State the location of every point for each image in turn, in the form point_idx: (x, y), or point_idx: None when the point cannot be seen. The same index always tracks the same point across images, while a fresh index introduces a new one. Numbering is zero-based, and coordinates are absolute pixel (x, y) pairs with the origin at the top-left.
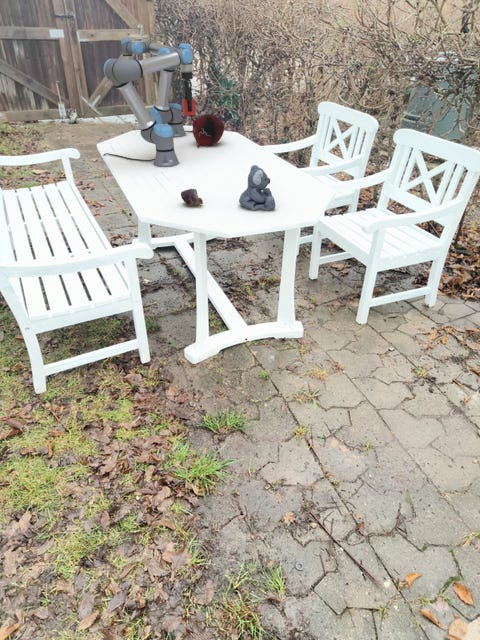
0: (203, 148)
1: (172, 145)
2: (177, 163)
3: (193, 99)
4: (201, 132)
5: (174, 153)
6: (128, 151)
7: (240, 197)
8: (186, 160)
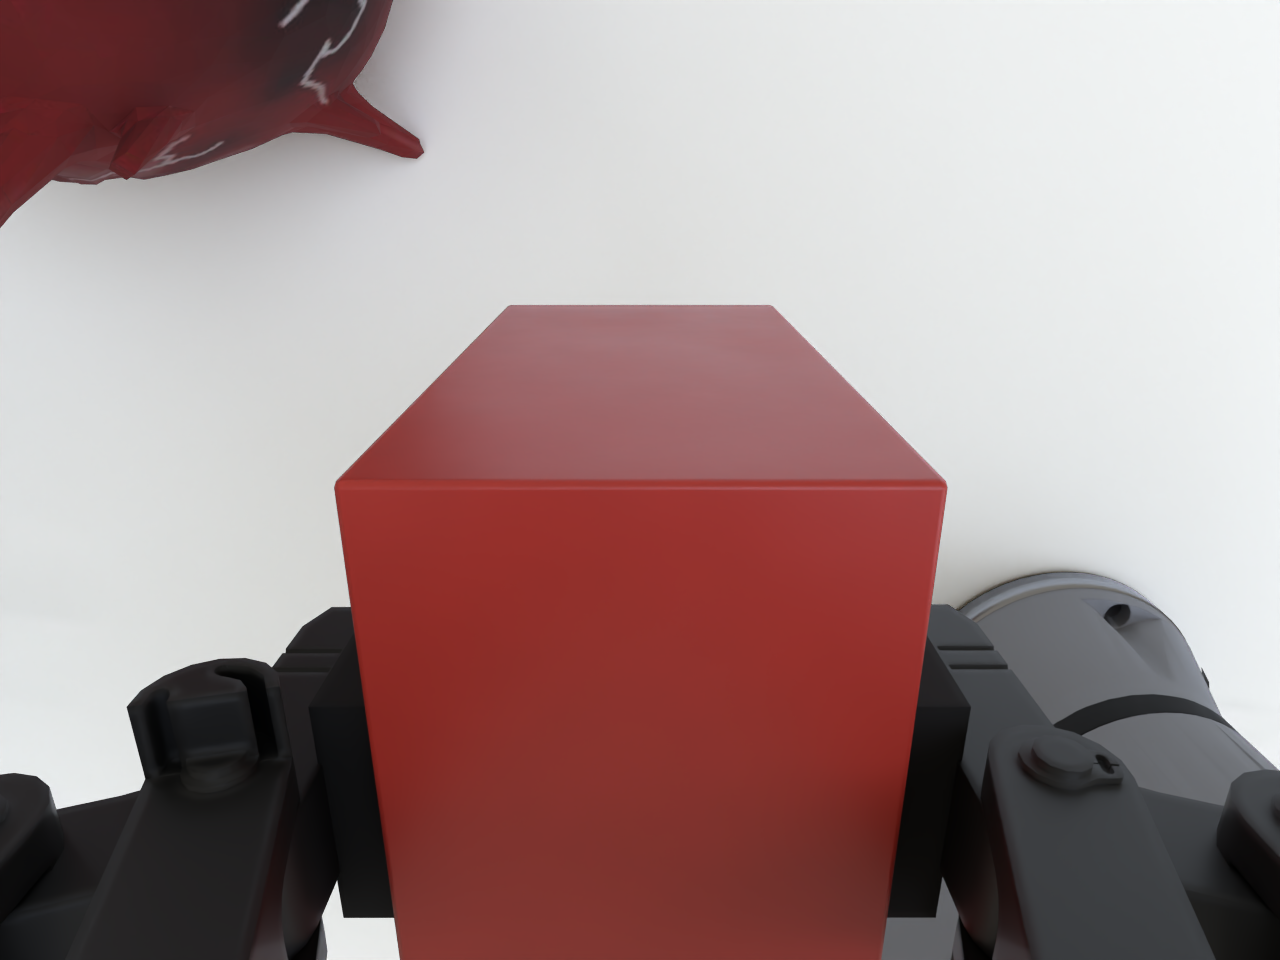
0: (461, 64)
1: (1275, 767)
2: (1132, 589)
3: (844, 569)
4: (335, 41)
5: (1183, 676)
6: (384, 949)
7: None
8: (1020, 458)
